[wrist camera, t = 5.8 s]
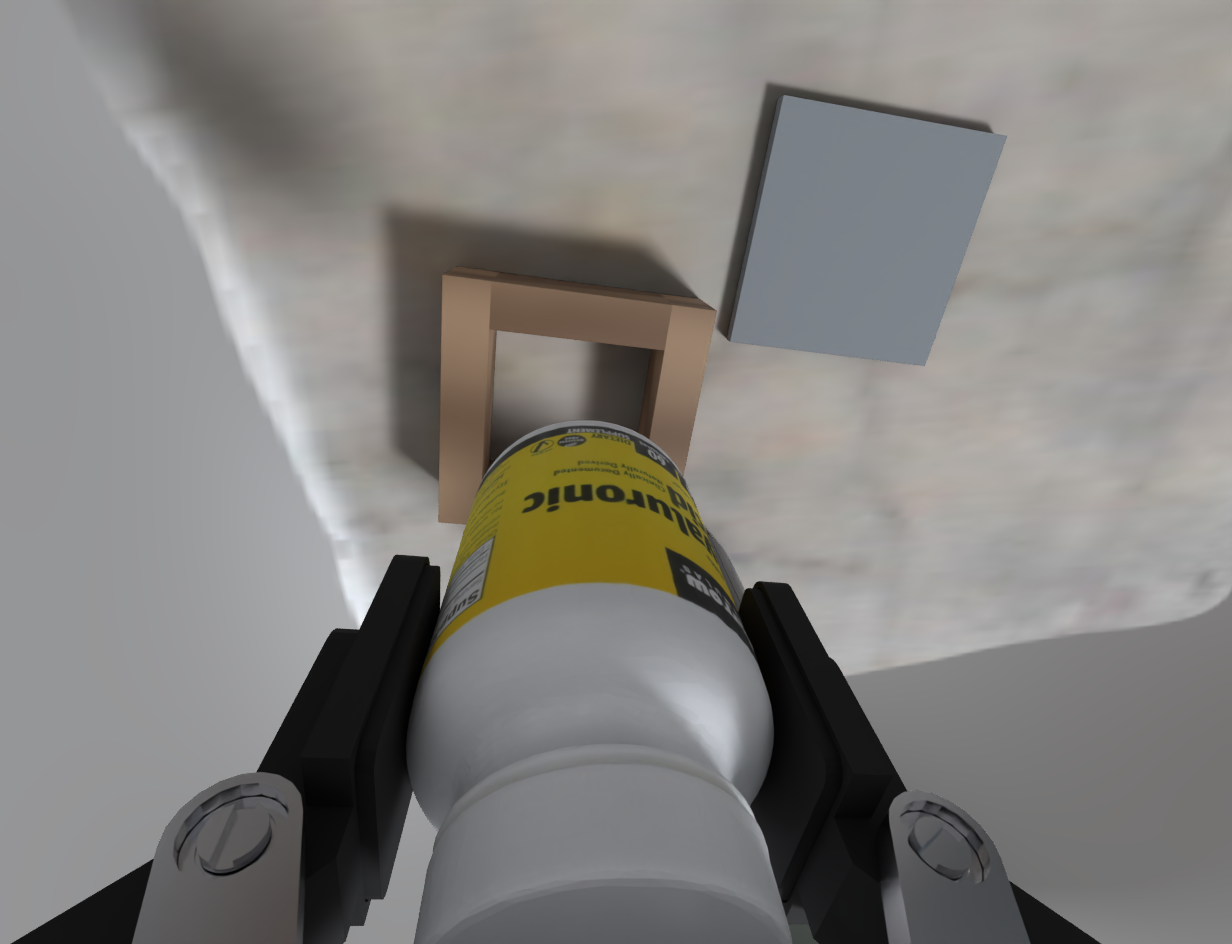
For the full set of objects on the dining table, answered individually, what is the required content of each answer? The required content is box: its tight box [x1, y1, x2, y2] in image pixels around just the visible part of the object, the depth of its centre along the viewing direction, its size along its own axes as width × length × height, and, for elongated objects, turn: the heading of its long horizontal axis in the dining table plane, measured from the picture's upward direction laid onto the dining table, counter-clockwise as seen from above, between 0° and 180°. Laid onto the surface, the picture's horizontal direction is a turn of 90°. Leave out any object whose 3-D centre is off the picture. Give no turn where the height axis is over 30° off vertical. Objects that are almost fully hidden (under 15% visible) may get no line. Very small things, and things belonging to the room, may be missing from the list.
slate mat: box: [727, 95, 1007, 366], centre depth 24 cm, size 9×9×1 cm
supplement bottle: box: [406, 420, 792, 944], centre depth 10 cm, size 5×5×10 cm
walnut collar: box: [438, 266, 717, 524], centre depth 25 cm, size 10×10×3 cm
